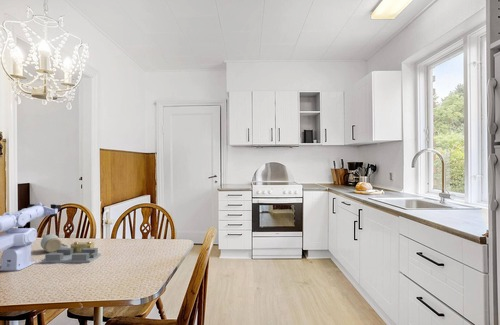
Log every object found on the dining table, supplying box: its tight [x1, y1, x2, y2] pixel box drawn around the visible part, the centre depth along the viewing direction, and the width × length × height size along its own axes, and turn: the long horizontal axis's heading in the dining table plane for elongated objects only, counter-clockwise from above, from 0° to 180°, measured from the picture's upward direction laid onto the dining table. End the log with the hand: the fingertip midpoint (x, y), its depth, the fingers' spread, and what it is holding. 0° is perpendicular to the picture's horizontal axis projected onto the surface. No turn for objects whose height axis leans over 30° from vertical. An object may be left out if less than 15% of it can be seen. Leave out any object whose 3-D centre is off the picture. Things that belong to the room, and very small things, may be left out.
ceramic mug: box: [40, 233, 69, 253], centre depth 135 cm, size 11×8×8 cm
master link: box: [70, 241, 95, 253], centre depth 131 cm, size 4×9×6 cm, turn 93°
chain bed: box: [41, 247, 102, 264], centre depth 123 cm, size 10×20×4 cm, turn 93°
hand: (51, 207), depth 133 cm, fingers open, 7 cm apart
